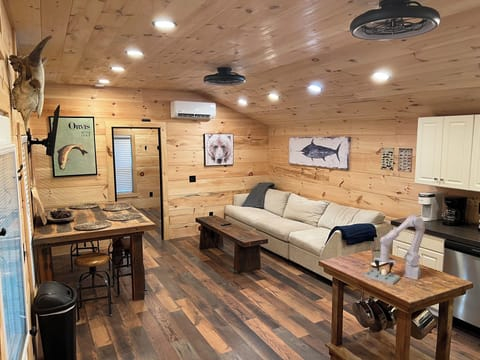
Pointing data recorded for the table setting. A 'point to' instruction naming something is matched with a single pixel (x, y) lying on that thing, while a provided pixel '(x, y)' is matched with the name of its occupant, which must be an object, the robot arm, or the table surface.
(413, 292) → the table surface
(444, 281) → the table surface
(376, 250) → the food container
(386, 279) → the grey compartment tray
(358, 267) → the table surface
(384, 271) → the egg
